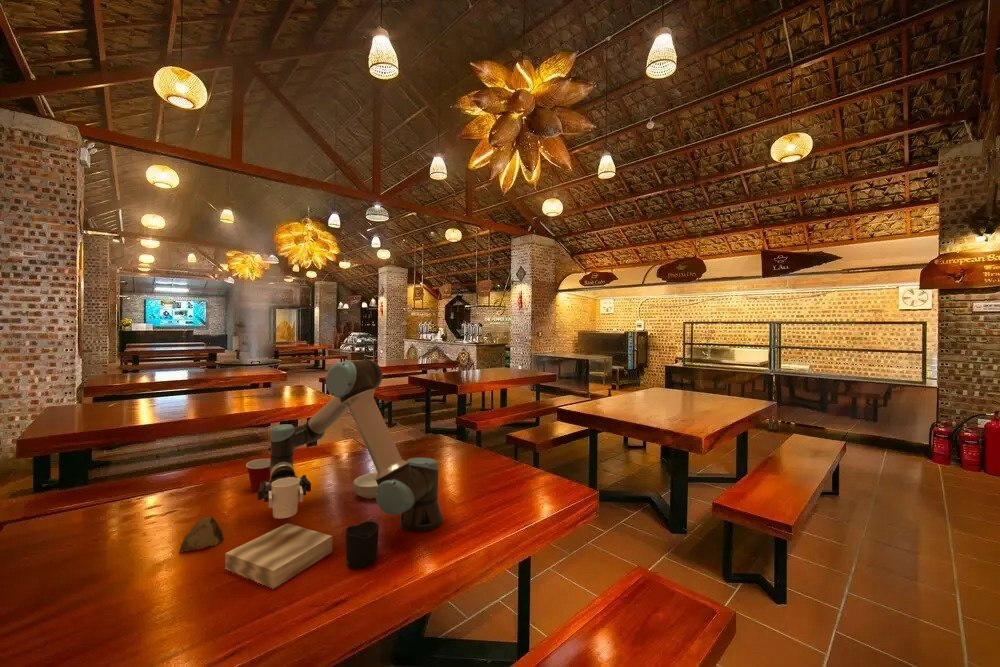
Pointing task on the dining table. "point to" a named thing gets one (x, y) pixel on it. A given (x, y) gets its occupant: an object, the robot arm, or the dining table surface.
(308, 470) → the dining table surface
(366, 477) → the cereal bowl
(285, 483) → the white cup
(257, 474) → the plastic cup
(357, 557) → the pen holder
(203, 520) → the rock
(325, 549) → the birch plinth
